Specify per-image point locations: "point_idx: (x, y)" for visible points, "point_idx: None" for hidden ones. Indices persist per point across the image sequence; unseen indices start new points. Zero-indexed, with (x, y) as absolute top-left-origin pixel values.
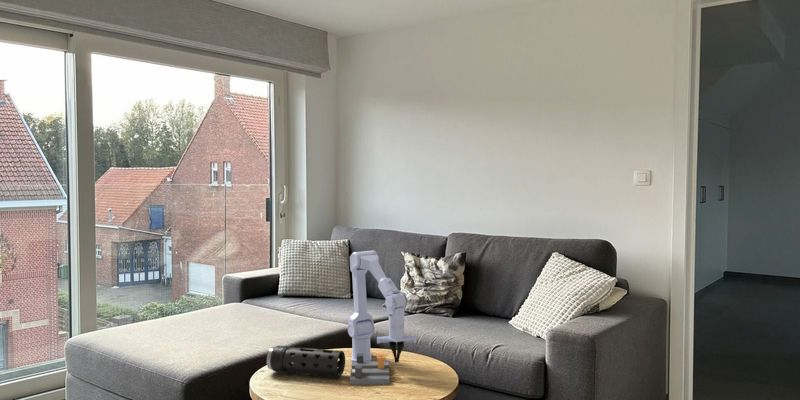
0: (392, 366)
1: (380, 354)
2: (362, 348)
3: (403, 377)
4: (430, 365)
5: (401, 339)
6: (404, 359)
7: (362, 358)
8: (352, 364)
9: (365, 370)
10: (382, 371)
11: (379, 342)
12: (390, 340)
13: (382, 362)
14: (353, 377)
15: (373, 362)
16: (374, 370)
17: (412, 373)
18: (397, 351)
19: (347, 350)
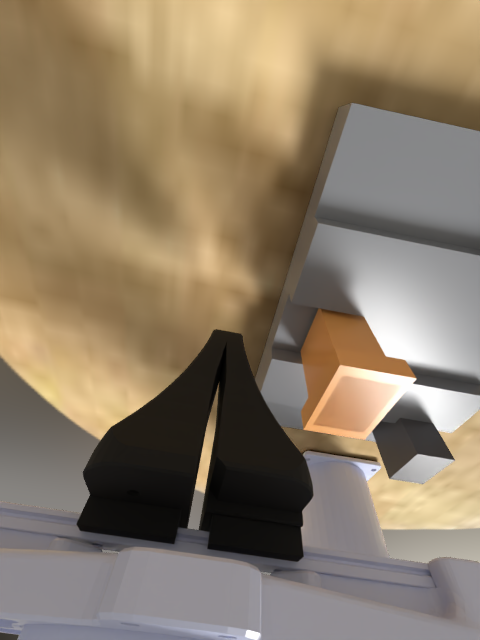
0: None
1: (343, 428)
2: (349, 515)
3: (202, 242)
4: (60, 368)
5: (61, 607)
6: None
7: (414, 441)
8: (473, 411)
9: (474, 307)
10: (365, 254)
11: (456, 573)
12: (319, 608)
13: (346, 344)
14: None
15: None
16: (412, 291)
17: (143, 294)
18: (209, 395)
19: None
